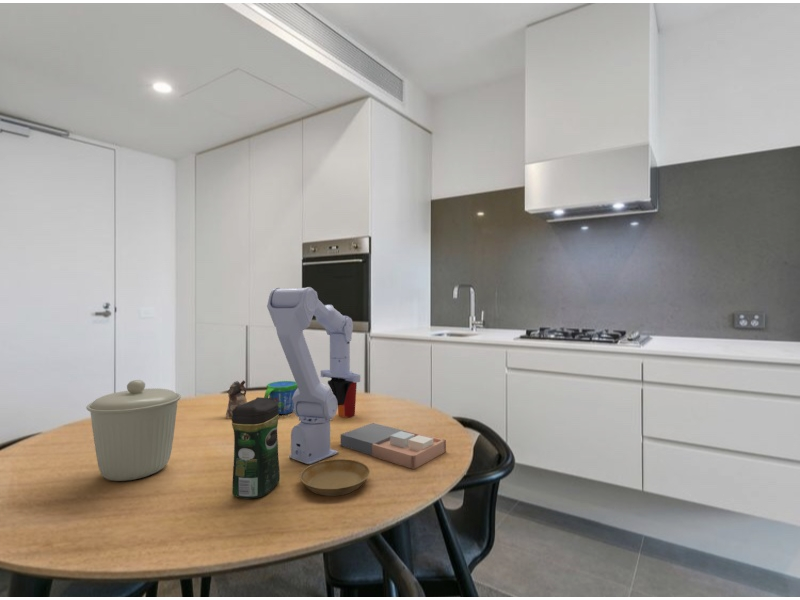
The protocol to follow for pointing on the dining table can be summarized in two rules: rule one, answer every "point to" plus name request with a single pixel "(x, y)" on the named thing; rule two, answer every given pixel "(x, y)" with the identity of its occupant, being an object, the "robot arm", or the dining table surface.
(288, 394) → the snack cup
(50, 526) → the dining table surface
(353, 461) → the plant saucer
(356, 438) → the charcoal board
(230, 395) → the figurine
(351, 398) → the paper cup
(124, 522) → the dining table surface
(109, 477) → the canister
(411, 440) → the cream tile
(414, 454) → the terracotta tray
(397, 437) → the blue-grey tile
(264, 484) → the coffee jar
